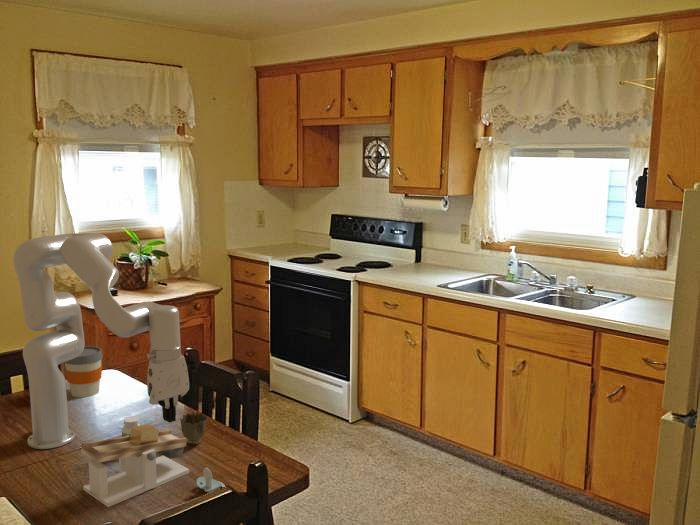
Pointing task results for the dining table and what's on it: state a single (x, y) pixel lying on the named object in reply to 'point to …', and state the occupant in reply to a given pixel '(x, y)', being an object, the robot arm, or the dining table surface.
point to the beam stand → (131, 477)
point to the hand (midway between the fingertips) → (169, 420)
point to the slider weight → (143, 434)
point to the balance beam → (133, 447)
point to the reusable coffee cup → (85, 372)
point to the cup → (193, 427)
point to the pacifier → (208, 481)
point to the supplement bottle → (129, 425)
